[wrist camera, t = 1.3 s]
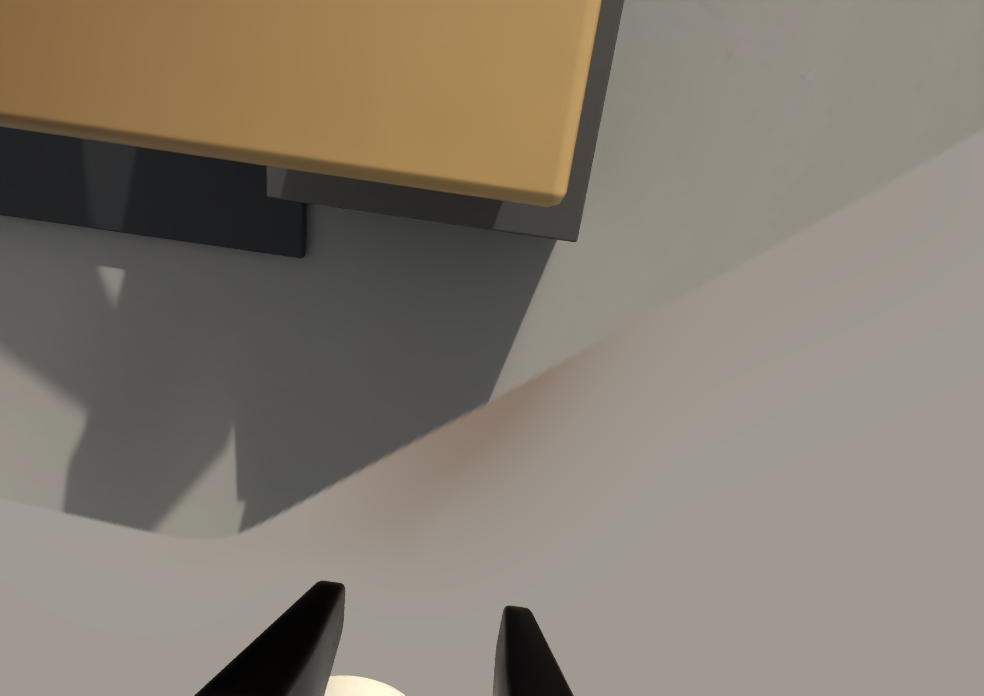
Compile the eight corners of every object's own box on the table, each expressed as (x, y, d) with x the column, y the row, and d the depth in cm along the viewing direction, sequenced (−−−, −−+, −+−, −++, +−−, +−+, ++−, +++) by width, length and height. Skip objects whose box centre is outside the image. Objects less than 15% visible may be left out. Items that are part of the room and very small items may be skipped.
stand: (619, -79, 16) (653, -149, 12) (563, 224, 19) (576, 242, 15) (320, -126, 16) (261, -213, 12) (314, 187, 19) (266, 197, 15)
